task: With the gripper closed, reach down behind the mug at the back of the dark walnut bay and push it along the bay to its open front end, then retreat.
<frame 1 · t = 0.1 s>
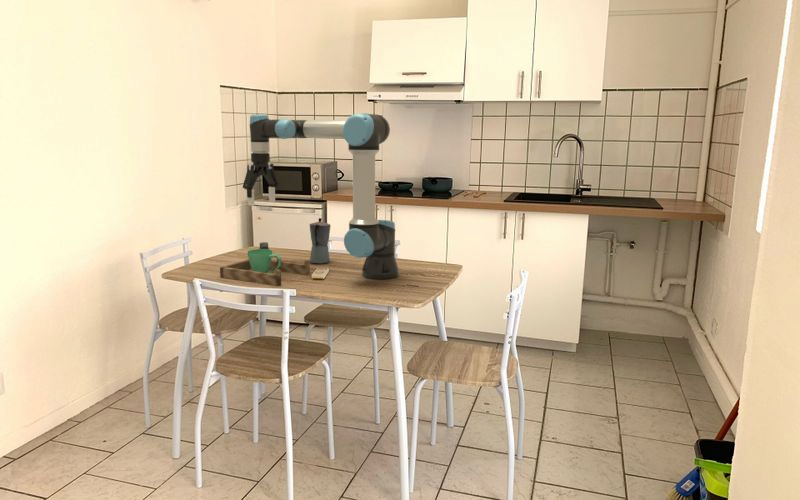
hand: (261, 203, 249), 28 cm above the table, tool pointing down, fingers open, 13 cm apart
mug: (265, 276, 242), on the table
bay: (265, 275, 242), on the table
moka pot: (320, 262, 267), on the table
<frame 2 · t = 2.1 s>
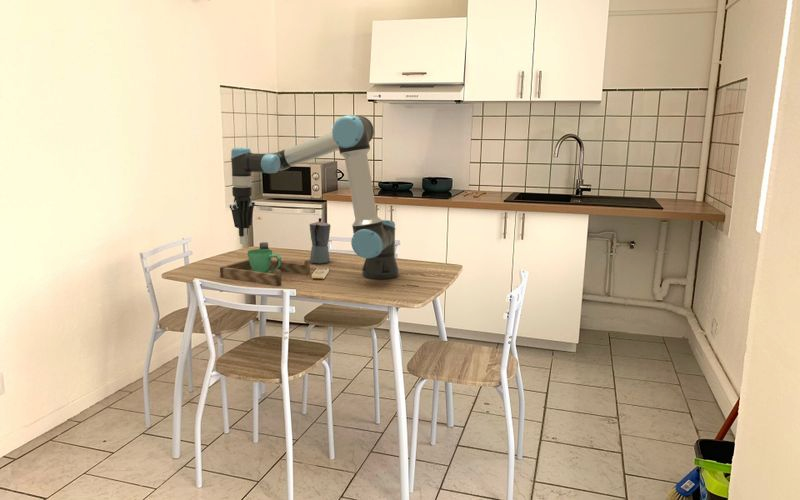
hand: (243, 243, 244), 12 cm above the table, tool pointing down, fingers closed
nothing on the table moved.
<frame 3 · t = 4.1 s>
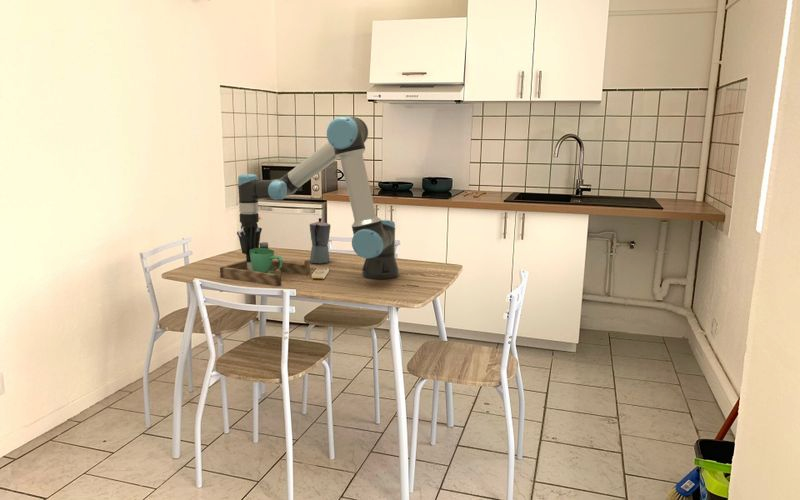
hand: (251, 269, 245), 2 cm above the table, tool pointing down, fingers closed
mug: (265, 276, 242), on the table, touching gripper
everything else where it was.
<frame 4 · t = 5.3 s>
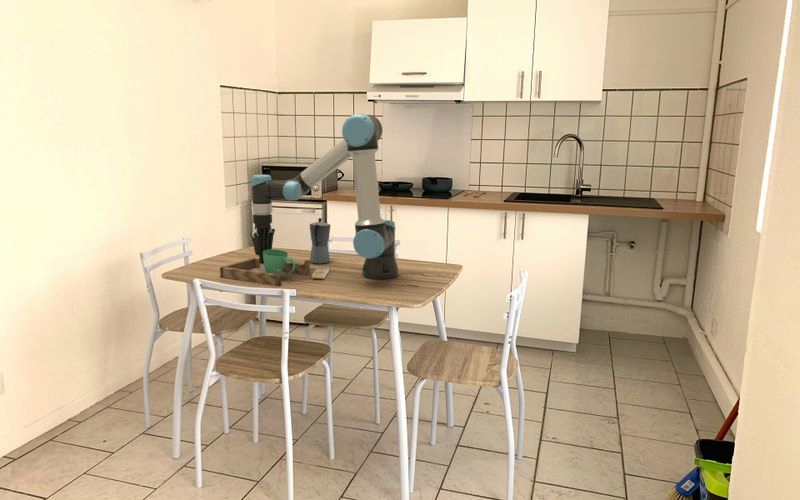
hand: (264, 270, 242), 2 cm above the table, tool pointing down, fingers closed
mug: (278, 278, 239), on the table, touching gripper
everything else where it was.
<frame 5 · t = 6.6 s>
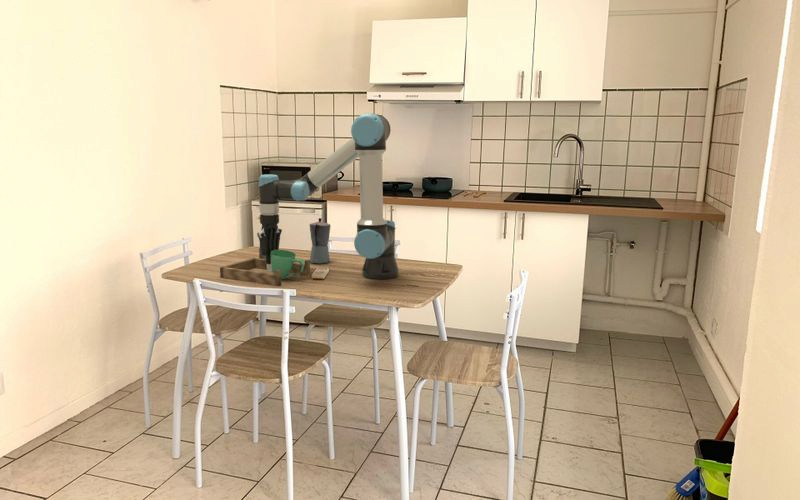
hand: (270, 271, 240), 2 cm above the table, tool pointing down, fingers closed
mug: (285, 278, 238), on the table, touching gripper
everything else where it was.
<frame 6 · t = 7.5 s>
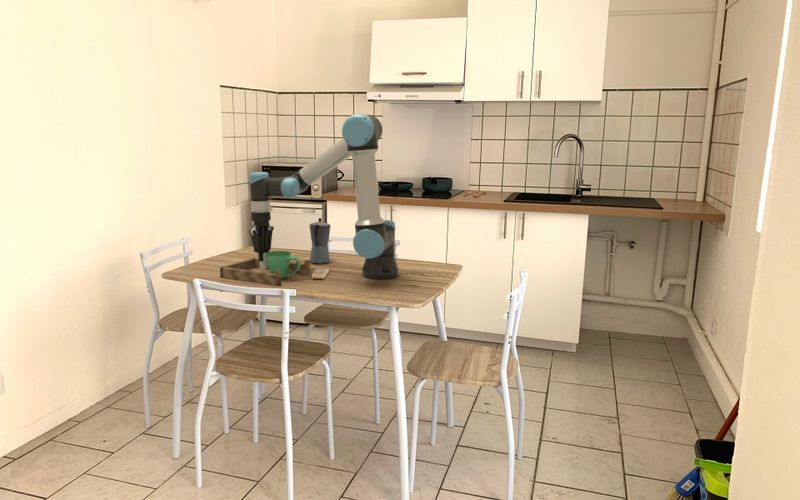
hand: (263, 268, 242), 3 cm above the table, tool pointing down, fingers closed
mug: (284, 278, 238), on the table
everything else where it was.
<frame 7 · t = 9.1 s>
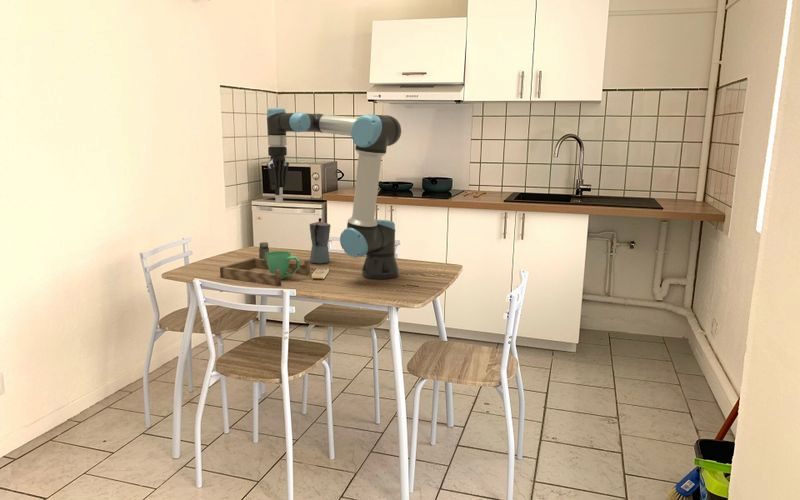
hand: (279, 202, 251), 28 cm above the table, tool pointing down, fingers closed
nothing on the table moved.
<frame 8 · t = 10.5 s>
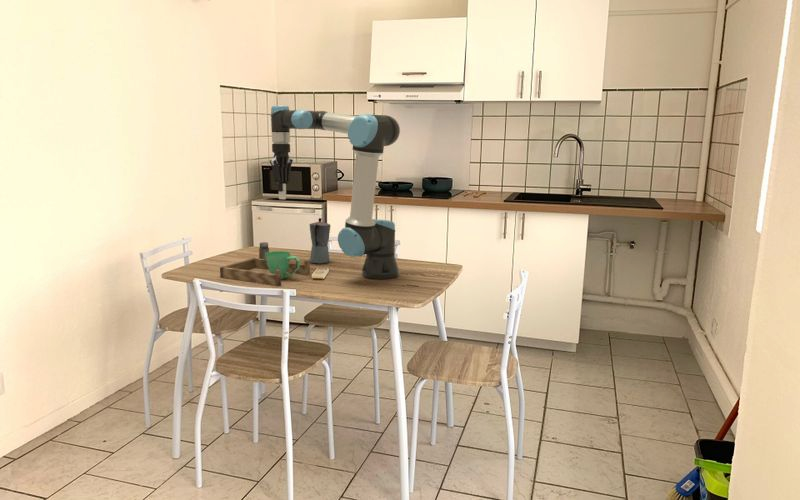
hand: (282, 198, 254), 29 cm above the table, tool pointing down, fingers closed
nothing on the table moved.
at the end: mug inside the target area (1.9 cm from its centre), on the table; mug tilted 0°; mug moved 9.1 cm from its start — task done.
